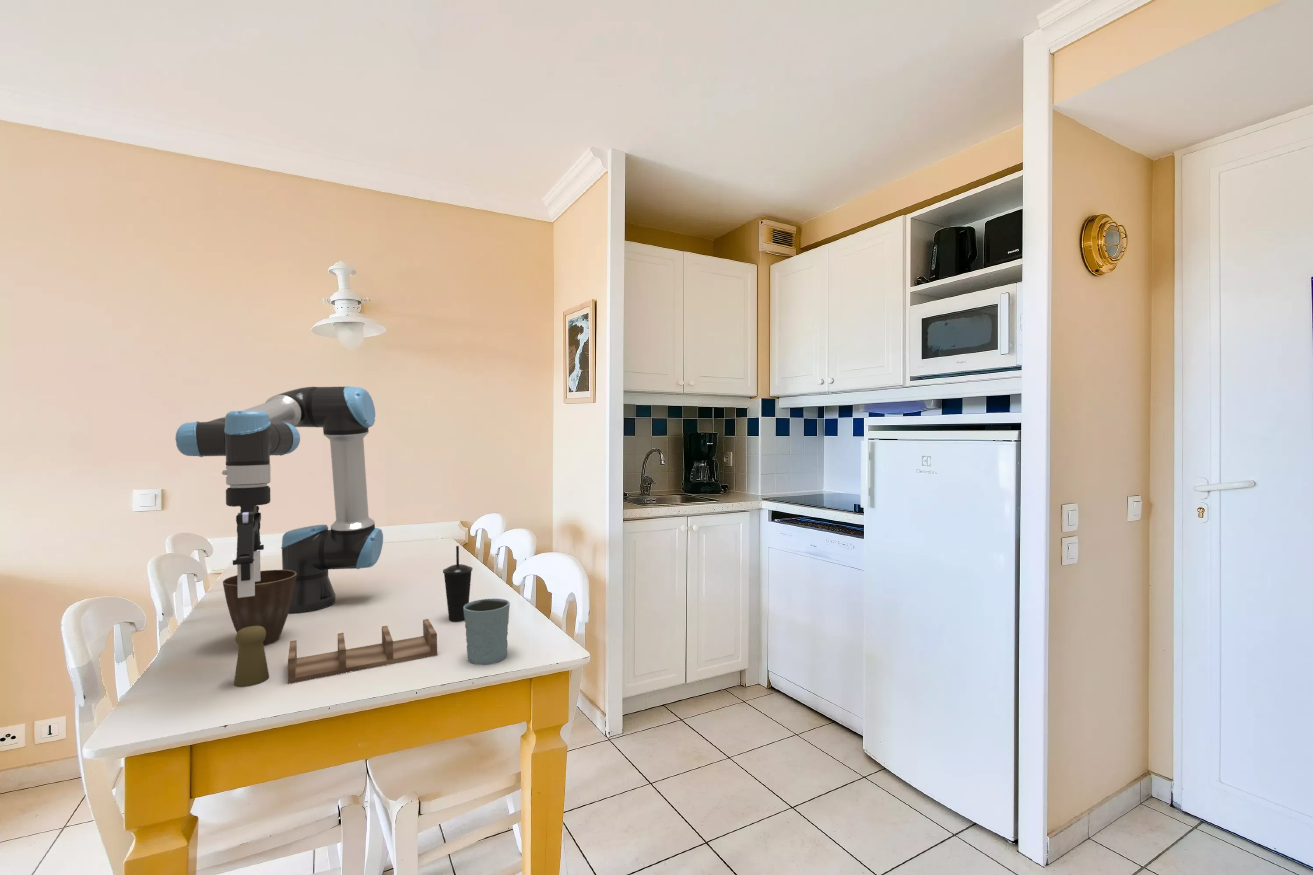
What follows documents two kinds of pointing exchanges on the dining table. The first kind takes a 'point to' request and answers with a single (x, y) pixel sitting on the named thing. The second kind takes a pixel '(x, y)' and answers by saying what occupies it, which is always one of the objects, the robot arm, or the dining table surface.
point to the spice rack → (361, 655)
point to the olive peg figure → (251, 657)
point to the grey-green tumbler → (486, 630)
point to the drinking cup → (457, 588)
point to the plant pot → (262, 602)
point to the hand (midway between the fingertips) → (249, 588)
